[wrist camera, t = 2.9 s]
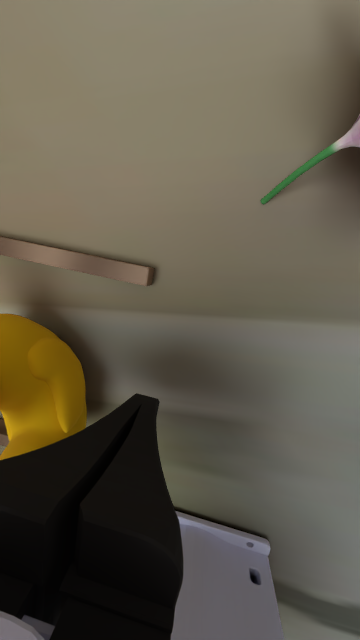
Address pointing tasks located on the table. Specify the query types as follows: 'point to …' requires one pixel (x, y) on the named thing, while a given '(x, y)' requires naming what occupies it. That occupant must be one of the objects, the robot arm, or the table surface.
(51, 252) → the u-shaped frame
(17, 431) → the duckling
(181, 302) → the table surface
